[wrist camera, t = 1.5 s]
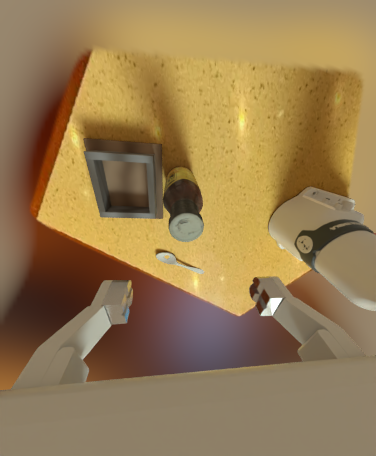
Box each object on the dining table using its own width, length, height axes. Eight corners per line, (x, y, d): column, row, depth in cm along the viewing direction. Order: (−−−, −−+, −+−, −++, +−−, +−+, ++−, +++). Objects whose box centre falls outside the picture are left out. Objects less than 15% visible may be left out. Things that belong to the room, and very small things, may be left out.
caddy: (161, 144, 29) (159, 145, 25) (163, 216, 38) (161, 225, 34) (86, 138, 28) (71, 138, 24) (104, 214, 36) (96, 224, 32)
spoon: (160, 246, 43) (159, 250, 42) (214, 271, 50) (215, 275, 49) (153, 256, 45) (152, 260, 43) (206, 278, 52) (207, 282, 50)
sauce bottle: (168, 162, 31) (162, 191, 14) (197, 168, 32) (222, 202, 15) (164, 192, 34) (155, 244, 18) (190, 197, 36) (205, 250, 19)
